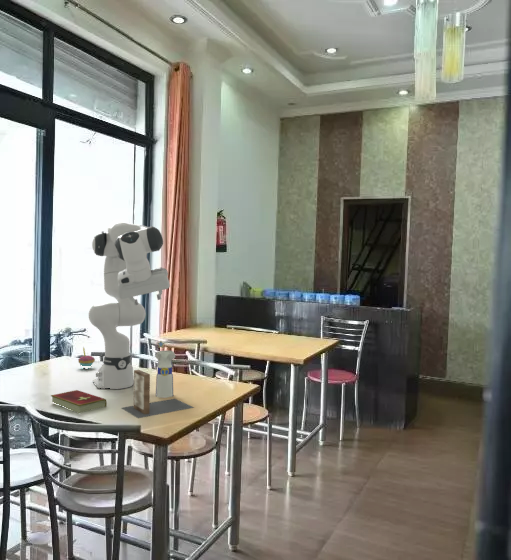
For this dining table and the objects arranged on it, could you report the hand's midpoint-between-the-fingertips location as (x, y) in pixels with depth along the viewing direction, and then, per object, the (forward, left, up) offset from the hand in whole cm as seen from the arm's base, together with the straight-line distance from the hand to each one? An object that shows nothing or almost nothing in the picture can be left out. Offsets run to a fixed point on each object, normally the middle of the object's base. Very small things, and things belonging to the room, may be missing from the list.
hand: (147, 301), depth 196 cm
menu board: (+7, -6, -42) cm, 43 cm away
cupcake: (-83, +4, -42) cm, 93 cm away
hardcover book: (-15, -23, -43) cm, 51 cm away
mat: (+7, +1, -42) cm, 43 cm away
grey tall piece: (-8, +12, -42) cm, 45 cm away
